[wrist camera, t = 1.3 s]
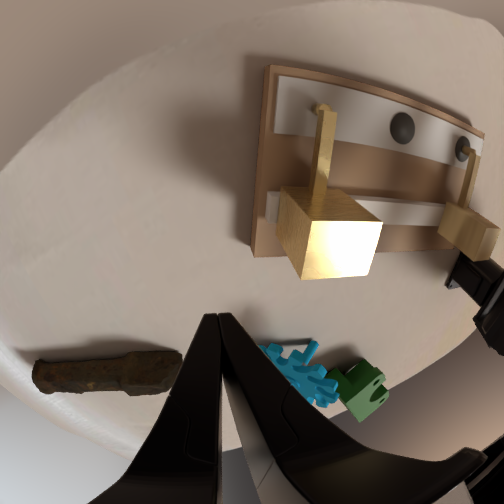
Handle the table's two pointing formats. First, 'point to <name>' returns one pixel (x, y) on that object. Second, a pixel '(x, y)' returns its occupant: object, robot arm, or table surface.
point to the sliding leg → (325, 217)
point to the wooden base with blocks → (371, 163)
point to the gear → (304, 374)
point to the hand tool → (111, 374)
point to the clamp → (360, 389)
